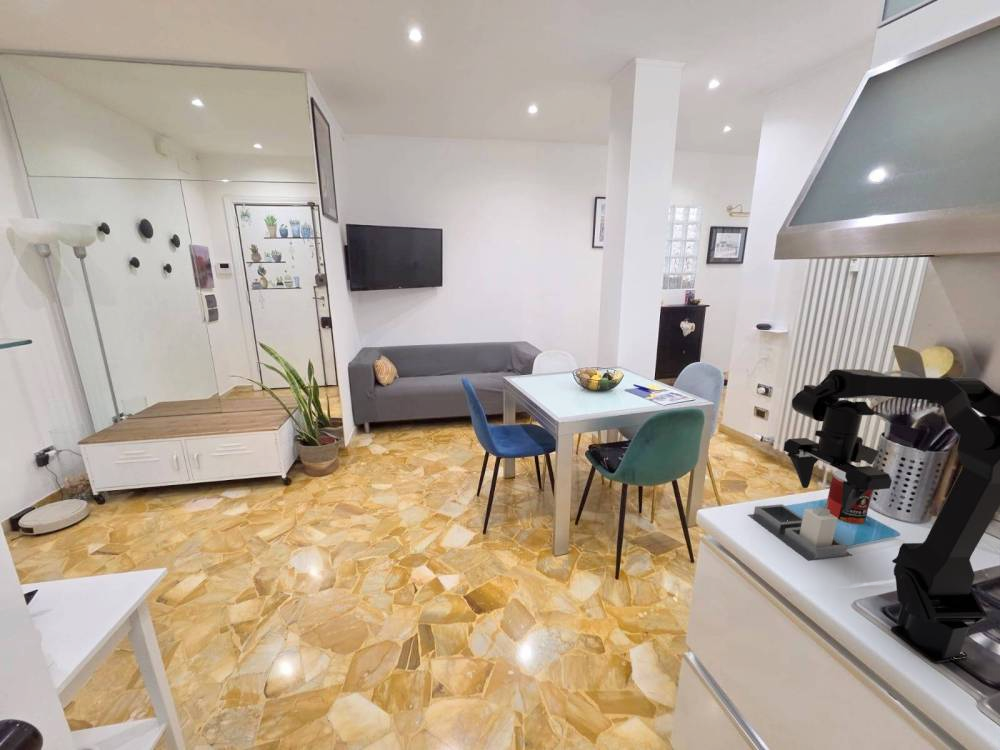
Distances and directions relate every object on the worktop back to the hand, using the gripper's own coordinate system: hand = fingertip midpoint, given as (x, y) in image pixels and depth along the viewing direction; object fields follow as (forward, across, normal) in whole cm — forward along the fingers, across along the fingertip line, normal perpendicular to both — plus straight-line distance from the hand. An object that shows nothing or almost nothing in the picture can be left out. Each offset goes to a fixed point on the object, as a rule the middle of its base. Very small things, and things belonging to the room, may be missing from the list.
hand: (824, 498), depth 86 cm
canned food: (+13, +10, -19) cm, 25 cm away
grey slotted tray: (+12, +4, 0) cm, 13 cm away
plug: (+12, 0, 0) cm, 12 cm away
